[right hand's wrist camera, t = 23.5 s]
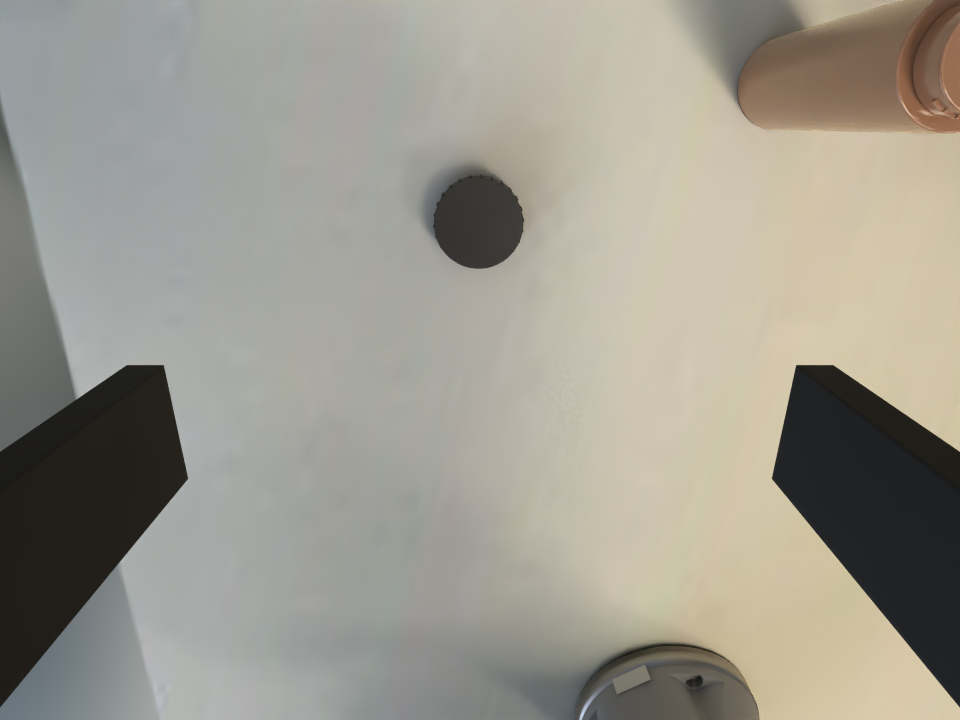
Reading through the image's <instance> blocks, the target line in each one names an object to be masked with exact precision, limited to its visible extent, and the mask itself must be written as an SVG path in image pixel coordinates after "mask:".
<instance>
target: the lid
mask: <svg viewBox="0 0 960 720" xmlns="http://www.w3.org/2000/svg"><path fill="white" fill-rule="evenodd" d="M511 191H512V190H511V188H508V187H507V186H505V185H504V184H503V182H502V181H501V182H499V181H498V180H495V179H493V177H491V178H490V177H485V176H482V175H480V176H472V177H471V175H470V176H469V177H468V178H464V179H462V180H461V179H459V181H458V182H456V183H455V184H453V185H452V184H451V185H450V186H449V189H448V190H447V191H446V192H445V193H444V192H443V194H442V198H441V200H440V202H438V203H437V205H436V206H437V209H436V212H435V213H434V217H435V218H434V225H433V227H434V229H435V234H436V238H437V241H438V243H439V245H440V247H441V248H442V250H443V251H444V252H445V254H446V255H447V256H448V257H449V258H451V259H452V260H453V261H455V262H457V263H458V264H460V265H463V266H465V267H469V268H479V269H481V268H488V267H492V266H495V265H497V264H499V263H501V262H503V261H504V260H505V259H507V258H508V257H509V256H510V255H511V254H512V253H513V252H514V250H515V249H516V247H517V245H518V244H519V243H520V239H521V236H522V232H523V221H524V219H523V216H522V208H521V206H520V205H519V203H518V198H517V196H516V197H515V196H514V194H513V193H512V192H511Z"/></svg>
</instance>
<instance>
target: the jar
mask: <svg viewBox="0 0 960 720" xmlns="http://www.w3.org/2000/svg"><path fill="white" fill-rule="evenodd" d="M738 98H739V103H740V106H741V109H742V111H743V113H744V114H745V116H746V117H747V118H748V119H749V120H750V121H751V122H752V123H753V124H755V125H757V126H759V127H761V128H764V129H770V130H809V131H857V132H904V133H956V132H960V0H902V1H899V2H895V3H892V4H888V5H885V6H881V7H878V8H875V9H871V10H868V11H864V12H861V13H857V14H854V15H851V16H847V17H844V18H840V19H837V20H833V21H830V22H827V23H823V24H820V25H816V26H813V27H809V28H806V29H803V30H799V31H796V32H792V33H789V34H785V35H782V36H779V37H776V38H773V39H771V40H769V41H767V42H765V43H764V44H762V45H761V46H760V47H759V48H757V49H756V50H755V51H754V52H753V54H752V55H751V56H750V57H749V59H748V60H747V62H746V64H745V65H744V68H743V70H742V72H741V75H740V79H739V84H738Z"/></svg>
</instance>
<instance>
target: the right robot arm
mask: <svg viewBox="0 0 960 720" xmlns="http://www.w3.org/2000/svg"><path fill="white" fill-rule="evenodd" d="M187 479H188V476H187V471H186V467H185V462H184V457H183V453H182V448H181V443H180V439H179V434H178V429H177V425H176V420H175V415H174V411H173V406H172V401H171V397H170V392H169V387H168V383H167V378H166V374H165V369H164V365H126V366H125V367H124V368H122V369H121V370H119V371H118V372H116V373H115V374H113V375H112V376H110V377H109V378H107V379H106V380H105V381H103V382H102V383H100V384H99V385H97V386H96V387H94V388H93V389H91V390H90V391H88V392H87V393H86V394H84V395H83V396H81V397H80V398H78V399H77V400H75V401H74V402H72V403H71V404H69V405H68V406H67V407H65V408H64V409H62V410H61V411H59V412H58V413H56V414H55V415H53V416H52V417H50V418H49V419H48V420H46V421H45V422H43V423H42V424H40V425H39V426H37V427H36V428H34V429H33V430H31V431H30V432H29V433H27V434H26V435H24V436H23V437H21V438H20V439H18V440H17V441H15V442H14V443H13V444H11V445H10V446H8V447H7V448H5V449H4V450H2V451H1V452H0V707H1V706H2V704H3V703H4V702H5V701H6V700H7V698H8V697H9V696H10V695H11V694H12V692H13V691H14V690H15V689H16V687H17V686H18V685H19V684H20V683H21V681H22V680H23V679H24V678H25V676H26V675H27V674H28V673H29V672H30V670H31V669H32V668H33V667H34V666H35V664H36V663H37V662H38V661H39V659H40V658H41V657H42V656H43V655H44V653H45V652H46V651H47V650H48V649H49V647H50V646H51V645H52V644H53V642H54V641H55V640H56V639H57V638H58V636H59V635H60V634H61V633H62V631H63V630H64V629H65V628H66V627H67V625H68V624H69V623H70V622H71V621H72V619H73V618H74V617H75V616H76V614H77V613H78V612H79V611H80V610H81V608H82V607H83V606H84V605H85V604H86V602H87V601H88V600H89V599H90V597H91V596H92V595H93V594H94V593H95V591H96V590H97V589H98V588H99V586H100V585H101V584H102V583H103V582H104V580H105V579H106V578H107V577H108V575H109V574H110V573H111V572H112V571H113V569H114V568H115V567H116V566H117V565H118V563H119V562H120V561H121V560H122V559H123V557H124V556H125V555H126V554H127V552H128V551H129V550H130V549H131V548H132V546H133V545H134V544H135V543H136V541H137V540H138V539H139V538H140V537H141V535H142V534H143V533H144V532H145V531H146V529H147V528H148V527H149V526H150V524H151V523H152V522H153V521H154V520H155V518H156V517H157V516H158V515H159V513H160V512H161V511H162V510H163V509H164V507H165V506H166V505H167V504H168V503H169V501H170V500H171V499H172V498H173V496H174V495H175V494H176V493H177V492H178V490H179V489H180V488H181V487H182V486H183V484H184V483H185V482H186V481H187ZM772 479H773V481H774V482H775V483H776V484H777V486H778V487H779V488H780V489H781V490H782V492H783V493H784V494H785V495H786V496H787V498H788V499H789V500H790V501H791V503H792V504H793V505H794V506H795V507H796V509H797V510H798V511H799V512H800V513H801V515H802V516H803V517H804V518H805V520H806V521H807V522H808V523H809V524H810V526H811V527H812V528H813V529H814V531H815V532H816V533H817V534H818V535H819V537H820V538H821V539H822V540H823V541H824V543H825V544H826V545H827V546H828V548H829V549H830V550H831V551H832V552H833V554H834V555H835V556H836V557H837V559H838V560H839V561H840V562H841V563H842V565H843V566H844V567H845V568H846V569H847V571H848V572H849V573H850V574H851V576H852V577H853V578H854V579H855V580H856V582H857V583H858V584H859V585H860V586H861V588H862V589H863V590H864V591H865V593H866V594H867V595H868V596H869V597H870V599H871V600H872V601H873V602H874V604H875V605H876V606H877V607H878V608H879V610H880V611H881V612H882V613H883V614H884V616H885V617H886V618H887V619H888V621H889V622H890V623H891V624H892V625H893V627H894V628H895V629H896V630H897V632H898V633H899V634H900V635H901V636H902V638H903V639H904V640H905V641H906V642H907V644H908V645H909V646H910V647H911V649H912V650H913V651H914V652H915V653H916V655H917V656H918V657H919V658H920V659H921V661H922V662H923V663H924V664H925V666H926V667H927V668H928V669H929V670H930V672H931V673H932V674H933V675H934V677H935V678H936V679H937V680H938V681H939V683H940V684H941V685H942V686H943V687H944V689H945V690H946V691H947V692H948V694H949V695H950V696H951V697H952V698H953V700H954V701H955V702H956V703H957V705H958V706H959V707H960V452H959V451H958V450H956V449H955V448H953V447H952V446H950V445H949V444H948V443H946V442H945V441H943V440H942V439H940V438H939V437H937V436H936V435H934V434H933V433H931V432H930V431H929V430H927V429H926V428H924V427H923V426H921V425H920V424H918V423H917V422H915V421H914V420H912V419H911V418H910V417H908V416H907V415H905V414H904V413H902V412H901V411H899V410H898V409H896V408H895V407H893V406H892V405H891V404H889V403H888V402H886V401H885V400H883V399H882V398H880V397H879V396H877V395H876V394H874V393H873V392H872V391H870V390H869V389H867V388H866V387H864V386H863V385H861V384H860V383H858V382H857V381H855V380H854V379H853V378H851V377H850V376H848V375H847V374H845V373H844V372H842V371H841V370H839V369H838V368H836V367H835V366H834V365H796V369H795V374H794V378H793V383H792V387H791V392H790V397H789V401H788V406H787V411H786V415H785V420H784V425H783V429H782V434H781V439H780V443H779V448H778V453H777V457H776V462H775V467H774V471H773V476H772ZM576 720H759V712H758V707H757V704H756V702H755V700H754V697H753V695H752V693H751V691H750V689H749V687H748V685H747V683H746V681H745V679H744V677H743V676H742V674H741V673H740V672H739V671H738V669H737V668H735V667H734V666H733V665H732V664H731V663H729V662H728V661H727V660H725V659H723V658H722V657H720V656H718V655H716V654H714V653H711V652H708V651H705V650H701V649H698V648H692V647H684V646H661V647H653V648H648V649H643V650H640V651H636V652H633V653H630V654H627V655H625V656H623V657H621V658H618V659H617V660H615V661H613V662H611V663H609V664H608V665H606V666H605V667H604V668H602V669H601V670H600V671H598V672H597V673H596V674H595V675H594V676H593V677H592V678H591V679H590V680H589V682H588V683H587V684H586V686H585V687H584V689H583V690H582V692H581V694H580V696H579V699H578V702H577V706H576Z"/></svg>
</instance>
